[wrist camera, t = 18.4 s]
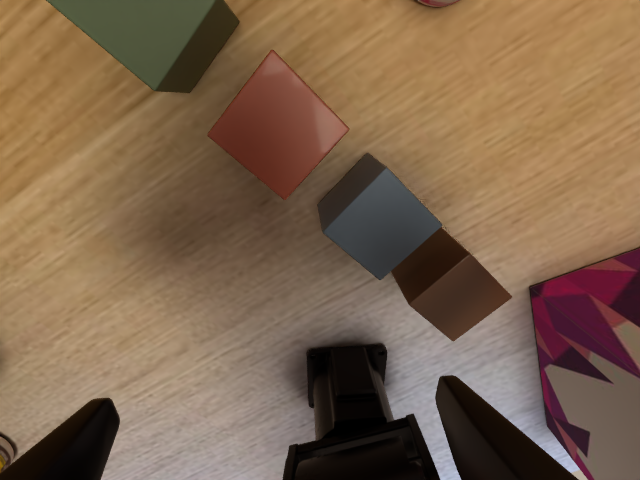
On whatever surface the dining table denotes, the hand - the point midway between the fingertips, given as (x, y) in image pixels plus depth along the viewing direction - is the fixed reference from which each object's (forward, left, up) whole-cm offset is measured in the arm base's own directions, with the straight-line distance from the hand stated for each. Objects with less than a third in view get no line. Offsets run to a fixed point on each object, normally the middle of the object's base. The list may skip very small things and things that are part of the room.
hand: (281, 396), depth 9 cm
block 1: (+11, +5, -13) cm, 18 cm away
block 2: (+6, 0, -13) cm, 14 cm away
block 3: (+1, -5, -13) cm, 14 cm away
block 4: (-4, -10, -13) cm, 17 cm away
